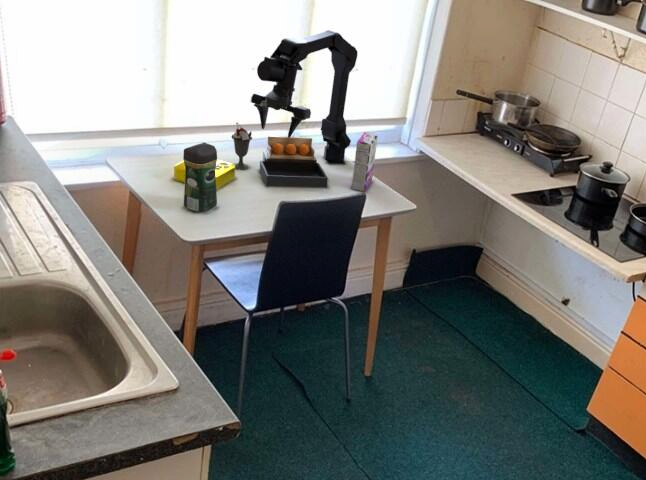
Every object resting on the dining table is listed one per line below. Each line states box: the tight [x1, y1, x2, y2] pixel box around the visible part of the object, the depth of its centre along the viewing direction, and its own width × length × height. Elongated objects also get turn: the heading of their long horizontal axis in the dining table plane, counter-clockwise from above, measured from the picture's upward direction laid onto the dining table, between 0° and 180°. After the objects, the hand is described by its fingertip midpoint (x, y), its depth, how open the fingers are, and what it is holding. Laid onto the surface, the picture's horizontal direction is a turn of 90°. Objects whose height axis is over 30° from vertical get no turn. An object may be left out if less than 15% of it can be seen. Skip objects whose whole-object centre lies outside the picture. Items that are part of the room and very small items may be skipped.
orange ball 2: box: [286, 144, 296, 155], centre depth 255 cm, size 4×4×4 cm
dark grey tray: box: [259, 160, 329, 189], centre depth 254 cm, size 20×13×4 cm, turn 107°
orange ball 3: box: [299, 144, 309, 155], centre depth 256 cm, size 4×4×4 cm
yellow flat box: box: [173, 159, 236, 190], centre depth 243 cm, size 15×15×5 cm
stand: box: [262, 150, 318, 163], centre depth 258 cm, size 17×7×6 cm, turn 107°
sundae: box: [231, 122, 253, 171], centre depth 252 cm, size 7×7×15 cm
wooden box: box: [266, 135, 315, 160], centre depth 254 cm, size 15×6×6 cm, turn 107°
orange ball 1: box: [273, 143, 283, 154], centre depth 253 cm, size 4×4×4 cm
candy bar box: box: [351, 131, 379, 193], centre depth 254 cm, size 11×5×16 cm, turn 168°
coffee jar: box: [182, 142, 218, 213], centre depth 221 cm, size 10×8×19 cm
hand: (275, 133), depth 245 cm, fingers open, 9 cm apart
